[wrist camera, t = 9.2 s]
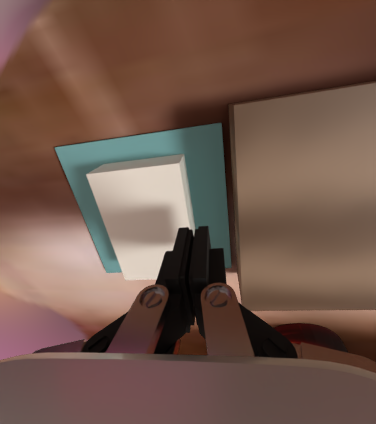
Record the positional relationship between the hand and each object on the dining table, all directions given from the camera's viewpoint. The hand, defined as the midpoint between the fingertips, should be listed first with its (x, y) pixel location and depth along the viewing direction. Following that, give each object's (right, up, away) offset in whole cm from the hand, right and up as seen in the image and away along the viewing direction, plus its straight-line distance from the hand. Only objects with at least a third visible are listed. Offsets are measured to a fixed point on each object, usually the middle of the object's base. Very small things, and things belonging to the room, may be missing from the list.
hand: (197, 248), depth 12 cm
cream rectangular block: (-3, +1, +3) cm, 4 cm away
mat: (-3, +2, +5) cm, 7 cm away
